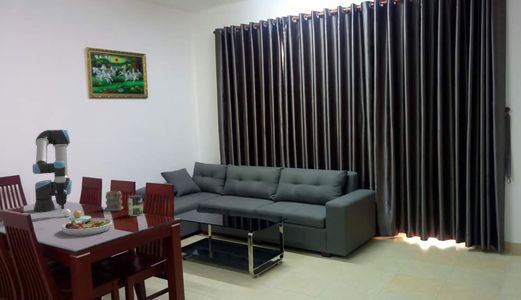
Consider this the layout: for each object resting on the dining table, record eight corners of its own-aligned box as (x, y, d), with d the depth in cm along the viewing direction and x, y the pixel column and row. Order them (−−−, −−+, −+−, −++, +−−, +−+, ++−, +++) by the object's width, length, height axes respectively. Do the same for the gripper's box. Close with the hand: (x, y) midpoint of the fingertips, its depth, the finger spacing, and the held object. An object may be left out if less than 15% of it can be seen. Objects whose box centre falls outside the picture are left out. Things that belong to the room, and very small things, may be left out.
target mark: (65, 219, 307) (65, 219, 307) (81, 215, 320) (81, 215, 320) (79, 221, 301) (79, 220, 301) (95, 217, 314) (95, 216, 314)
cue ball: (65, 209, 313) (66, 216, 313) (71, 207, 318) (73, 215, 318) (60, 210, 316) (62, 217, 315) (66, 209, 321) (68, 216, 320)
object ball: (73, 209, 309) (78, 214, 307) (79, 208, 314) (84, 212, 312) (70, 215, 311) (75, 220, 309) (77, 214, 316) (81, 218, 314)
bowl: (86, 223, 295) (86, 212, 294) (122, 227, 284) (121, 215, 283) (50, 235, 267) (50, 222, 266) (88, 239, 256) (88, 226, 255)
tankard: (103, 209, 342) (102, 190, 341) (119, 207, 350) (118, 188, 349) (112, 213, 326) (112, 193, 325) (128, 210, 334) (128, 191, 333)
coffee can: (145, 213, 324) (144, 194, 323) (138, 216, 314) (138, 197, 313) (132, 212, 326) (132, 194, 325) (126, 215, 316) (125, 197, 315)
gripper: (49, 182, 317) (51, 213, 319) (61, 183, 311) (63, 215, 313) (58, 180, 324) (60, 211, 326) (70, 181, 318) (72, 213, 320)
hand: (61, 213), depth 319 cm, fingers closed
